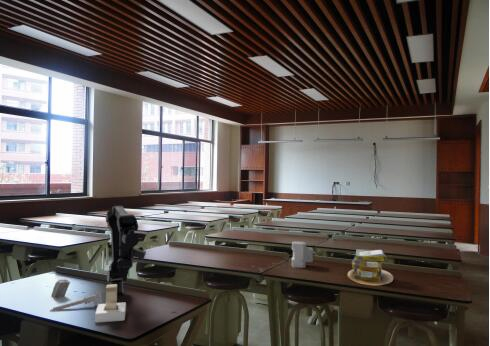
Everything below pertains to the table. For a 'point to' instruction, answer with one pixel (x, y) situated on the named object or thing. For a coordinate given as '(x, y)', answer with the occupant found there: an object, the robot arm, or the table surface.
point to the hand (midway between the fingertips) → (125, 278)
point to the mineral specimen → (60, 288)
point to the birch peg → (111, 297)
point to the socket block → (110, 313)
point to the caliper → (80, 302)
